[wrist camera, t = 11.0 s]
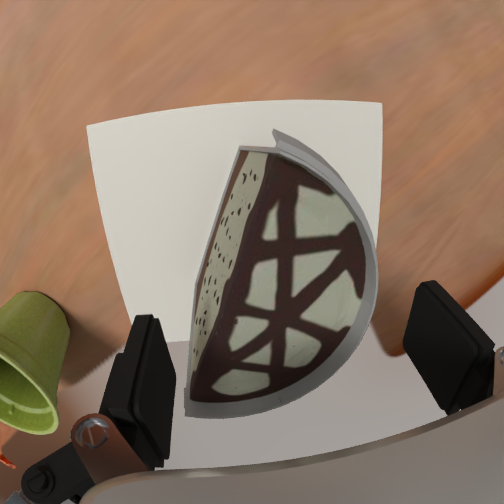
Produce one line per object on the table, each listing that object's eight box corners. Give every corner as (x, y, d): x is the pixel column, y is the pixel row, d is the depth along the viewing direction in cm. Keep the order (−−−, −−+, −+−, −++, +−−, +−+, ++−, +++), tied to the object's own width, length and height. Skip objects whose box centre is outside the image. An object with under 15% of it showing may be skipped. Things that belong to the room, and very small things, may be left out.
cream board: (374, 103, 18) (382, 103, 17) (362, 308, 25) (366, 315, 24) (92, 125, 17) (86, 125, 16) (140, 335, 24) (138, 343, 23)
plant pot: (67, 375, 25) (42, 447, 17) (-10, 319, 21) (-53, 382, 14) (107, 318, 23) (76, 404, 15) (13, 248, 19) (-49, 312, 11)
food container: (272, 319, 23) (305, 433, 14) (189, 301, 22) (182, 422, 12) (342, 157, 18) (445, 205, 9) (247, 121, 17) (287, 132, 8)
